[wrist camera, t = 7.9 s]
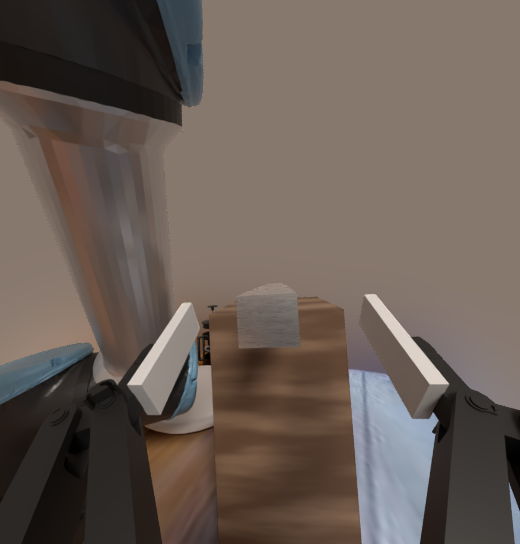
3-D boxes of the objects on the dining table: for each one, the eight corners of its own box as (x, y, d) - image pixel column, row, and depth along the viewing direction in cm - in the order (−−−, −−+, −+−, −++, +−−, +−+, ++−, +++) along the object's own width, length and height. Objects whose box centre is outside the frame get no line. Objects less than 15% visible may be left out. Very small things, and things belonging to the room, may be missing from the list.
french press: (222, 356, 83) (219, 303, 84) (232, 363, 76) (229, 304, 77) (195, 365, 76) (192, 306, 77) (203, 373, 69) (201, 308, 70)
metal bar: (300, 347, 11) (296, 293, 11) (238, 348, 11) (235, 296, 11) (283, 296, 43) (283, 283, 43) (268, 297, 43) (267, 283, 43)
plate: (247, 360, 66) (245, 414, 40) (246, 380, 66) (243, 447, 39) (165, 358, 65) (105, 411, 39) (163, 377, 65) (102, 445, 38)
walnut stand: (363, 569, 21) (343, 309, 22) (219, 558, 22) (208, 314, 24) (326, 443, 37) (316, 296, 38) (244, 442, 38) (236, 300, 39)
